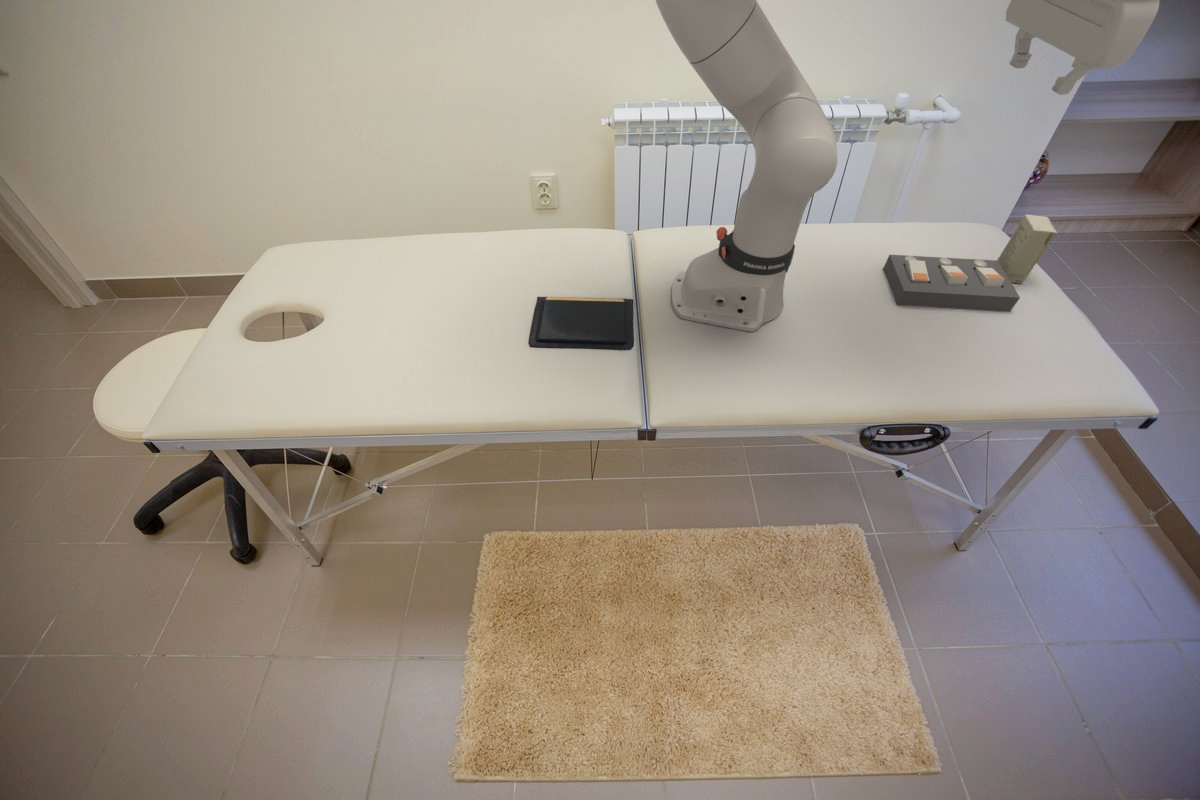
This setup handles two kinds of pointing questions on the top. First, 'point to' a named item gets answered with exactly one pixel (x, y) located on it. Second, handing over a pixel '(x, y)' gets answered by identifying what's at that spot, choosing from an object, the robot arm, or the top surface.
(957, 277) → the rocker middle
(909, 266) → the rocker left
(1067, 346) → the top surface
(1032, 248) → the skincare box
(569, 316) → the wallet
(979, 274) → the rocker right
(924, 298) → the switch panel
